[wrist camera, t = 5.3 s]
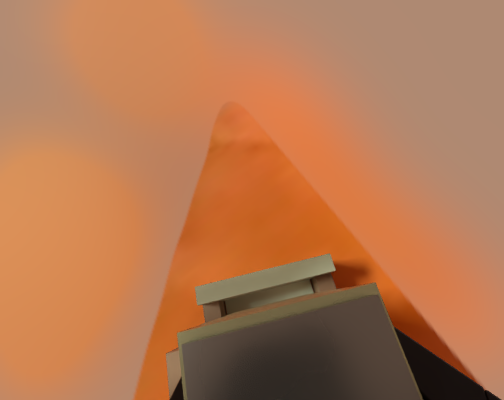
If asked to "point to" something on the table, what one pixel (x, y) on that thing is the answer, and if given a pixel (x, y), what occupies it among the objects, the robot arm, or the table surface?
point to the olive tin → (299, 351)
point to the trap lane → (257, 294)
